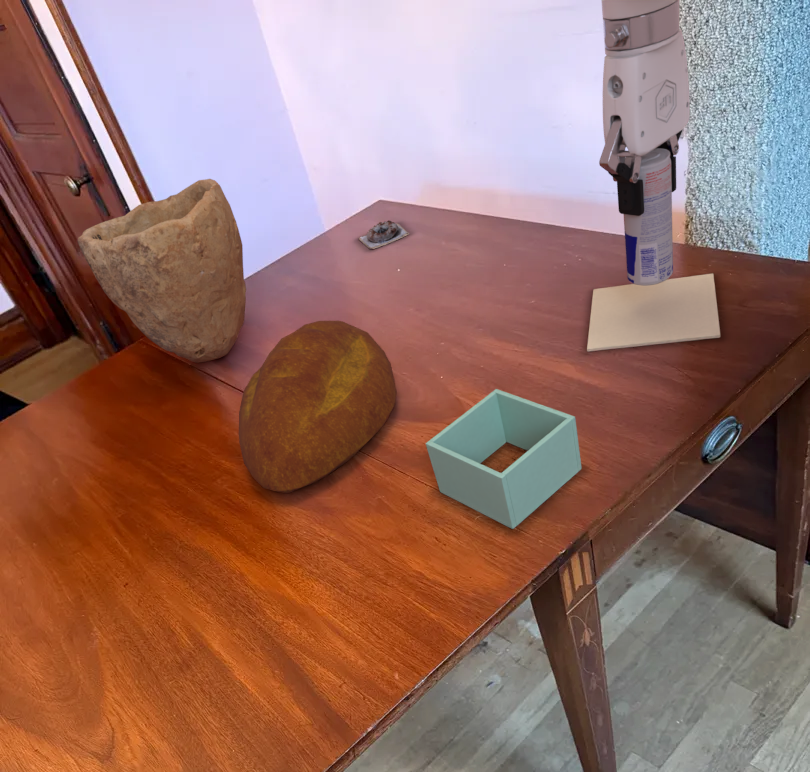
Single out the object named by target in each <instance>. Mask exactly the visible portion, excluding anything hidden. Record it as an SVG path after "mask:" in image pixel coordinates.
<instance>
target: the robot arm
mask: <svg viewBox="0 0 810 772" xmlns="http://www.w3.org/2000/svg"><path fill="white" fill-rule="evenodd" d="M601 13H602V27H603V40H604V41H603V42H604V55H605V56H604V58H603V59H604V60H603V72H602V73H603V74H602V126H603V128H602V129H603V137H604V139H603V140H604V146H603V149H602V152H601V155H600V158H599V162H598V163H599V166H600V167H601V168H602V169H604V170H605V171H606V172H607V173H608V175H610V176H611V177H612V180H613V182H616V189H617V204H618V213H620V214H621V215H624V214H627V215H635V216H640V215H642V214H643V213H644V193H643V180H642V179H639V173H640V167H641V160H642V156H643V155H646V154H648V153H649V152H651V151H652V150H654V149H655V148H662V149H667V150H668V151H670V159H671V182H672V193H674V192H675V191H676V190H677V154H679V151H680V145H679V140H680V138H681V135H682V133H683V130H684V128H686V126H687V124H688V123H689V121H690V114H691V113H690V110H691V109H690V81H689V69H688V60H687V59H688V58H687V50H686V45H685V38H684V35H683V30H682V29H681V28H680V0H601ZM625 157H632V159H631V166H630V168H629V167H628V166H627V165H626V164H625Z"/></svg>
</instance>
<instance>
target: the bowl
mask: <svg viewBox="0 0 810 772" xmlns="http://www.w3.org/2000/svg"><path fill="white" fill-rule="evenodd" d="M77 244H78V246H79V248H80V251H81V253H82V256H83V257H84V259H85V260H86V263H87V265H88V266H89V268H90V269H91V271H92V273H93V275H94V277H95V279H96V281H97V282H98V284H99V286H100V287H101V289H102V291H103V292H104V294H105V295H106V296H107V298H108V299H109V300H110V301H111V302H112V303H113V304H114V305H115V306H116V307H117V308H118V309H120V310H122V311H124V312H125V313H126V314H127V316H128V318H129V319H130V320H131V322H132V323H133V325H135V326H136V327H137V329H138V330H139V331H140V332H141V333H142V334H143V335H144V336H145V337H146V338H147V339H148V340H149V341H151V342H152V343H154V344H155V345H156V346H158V347H159V348H161V349H163V350H164V351H166V352H170V353H174V354H175V355H176V356H177V357H179V358H183V359H186V360H188V361H190V362H193V363H195V364H196V363H197V364H198V363H205V362H210V361H213V360H217V359H220V358H222V357H225V356H226V355H228V354H229V353H230V352H231V349H232V348H233V347H234V345H235V344H236V342H237V340H238V337H239V334H240V332H241V330H242V327H243V325H244V324H245V318H246V317H245V316H246V315H245V314H246V307H247V296H246V293H247V285H246V281H245V277H244V276H245V274H244V252H243V241H242V238H241V234H240V231H239V227H238V223H237V220H236V218H235V215H234V212H233V210H232V207H231V204H230V203H229V200H228V199H227V197H226V194H225V192H224V191H223V189H222V187H221V184H219V183H218V182H217V181H216V180H215V179H212V178H207V179H206V178H205V179H199V180H197V181H195V182H193V183H192V184H190V185H188V186H187V187H185V188H183V189H182V190H181V191H179V192H177V193H176V194H173V195H169V196H168V197H166V198H164V199H160V200H154V201H153V200H152V201H147V202H144V203H141V204H138V205H137V206H135V207H134V208H132V209H131V210H129V212H127V213H126V214H125V215H123V216H118V217H115V218H112V219H109V220H105V221H103V222H100V223H98V224H95V225H92V226H90V227H88V228H87V229H85V230H83V232H82V234H81V235H80V236H78V237H77Z"/></svg>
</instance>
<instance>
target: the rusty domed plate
mask: <svg viewBox="0 0 810 772" xmlns="http://www.w3.org/2000/svg"><path fill="white" fill-rule="evenodd" d="M408 235H410V233H409V232H408V231H407V230H406V229H405V228H404V227H403V226H401V224H399V222H397V223H395V222H394V221H392V220H386V221H385V220H384V221H379V222H378V223H376V224H375V225H373V226H372V227H371V228H369V229H368V231H367V233H366V235H362V236H360V237H358V240H359V241H360V242H361V243H362V244H363V245H364V246H365V247H366V248H367V249H369V250H370V249H372V250H375V249H377V248H380V247H382V246H386V245H388V244H392V243H394V242H395V241H397V240H400V239H403V238H405V237H406V236H408Z"/></svg>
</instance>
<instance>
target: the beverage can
mask: <svg viewBox="0 0 810 772" xmlns="http://www.w3.org/2000/svg"><path fill="white" fill-rule="evenodd" d="M631 159H632V157H625V164H626V165H627V166H628V167H629V168H630V166H631ZM639 179H642V180H643V193H644V213H643V214H642V215H640V216H635V215H627V214H623V227H624V228H623V230H624V244H625V259H626V260H625V262H626V277H627V280H628V281H629V282H630V283H631V284H636V285H641V286H649V285H655V284H658V283H661V282H663V281H665V280H667V279H670V277H671V276H672V275H673V273H674V251H673V250H674V244H673V243H674V242H673V241H674V239H673V194H672V193H673V192H672V182H671V159H670V151H668V150H667V149H662V148H655V149H654V150H652V151H651V152H649V153H648V154H646V155H643V156H642V160H641V167H640V173H639Z"/></svg>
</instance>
